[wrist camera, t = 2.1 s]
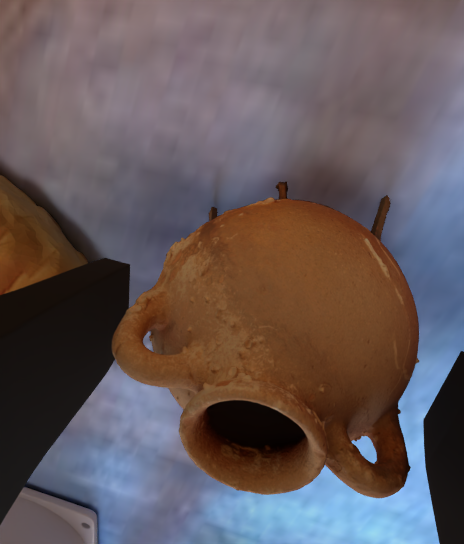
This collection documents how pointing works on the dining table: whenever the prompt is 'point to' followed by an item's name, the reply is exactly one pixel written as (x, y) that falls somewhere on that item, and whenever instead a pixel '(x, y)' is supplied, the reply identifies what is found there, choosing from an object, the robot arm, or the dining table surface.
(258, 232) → the pot
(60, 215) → the dining table surface
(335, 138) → the dining table surface
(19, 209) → the pastry
